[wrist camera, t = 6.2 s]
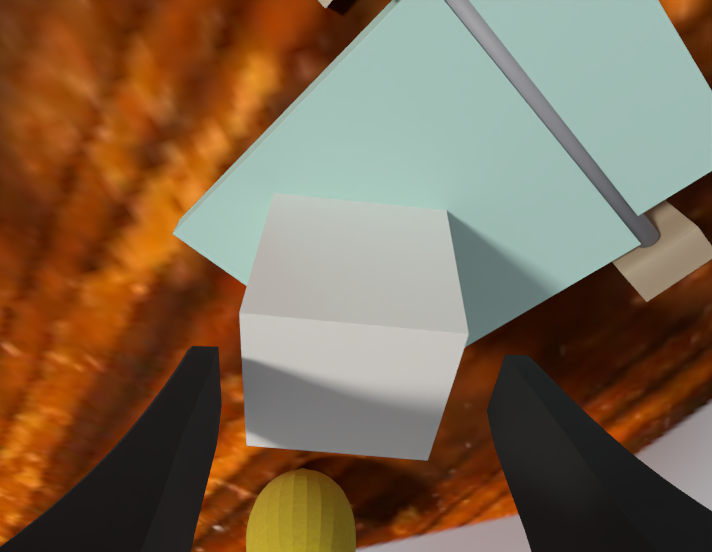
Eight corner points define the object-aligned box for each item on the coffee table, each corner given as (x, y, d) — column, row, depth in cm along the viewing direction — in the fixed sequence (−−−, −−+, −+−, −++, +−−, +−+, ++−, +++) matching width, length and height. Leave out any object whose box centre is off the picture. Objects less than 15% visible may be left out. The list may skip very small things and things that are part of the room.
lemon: (333, 427, 29) (340, 578, 23) (362, 486, 32) (375, 635, 26) (237, 452, 30) (216, 606, 23) (274, 508, 33) (265, 659, 26)
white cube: (446, 210, 16) (468, 334, 12) (417, 331, 19) (427, 460, 15) (273, 192, 16) (239, 312, 12) (273, 318, 19) (246, 445, 15)
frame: (672, 125, 21) (799, 199, 16) (536, 231, 23) (605, 329, 18) (447, -216, 15) (526, -291, 10) (292, -29, 17) (284, -3, 12)
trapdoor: (728, 143, 16) (768, 179, 15) (397, 350, 23) (398, 392, 21) (531, -181, 12) (557, -183, 10) (184, 190, 18) (164, 228, 16)
